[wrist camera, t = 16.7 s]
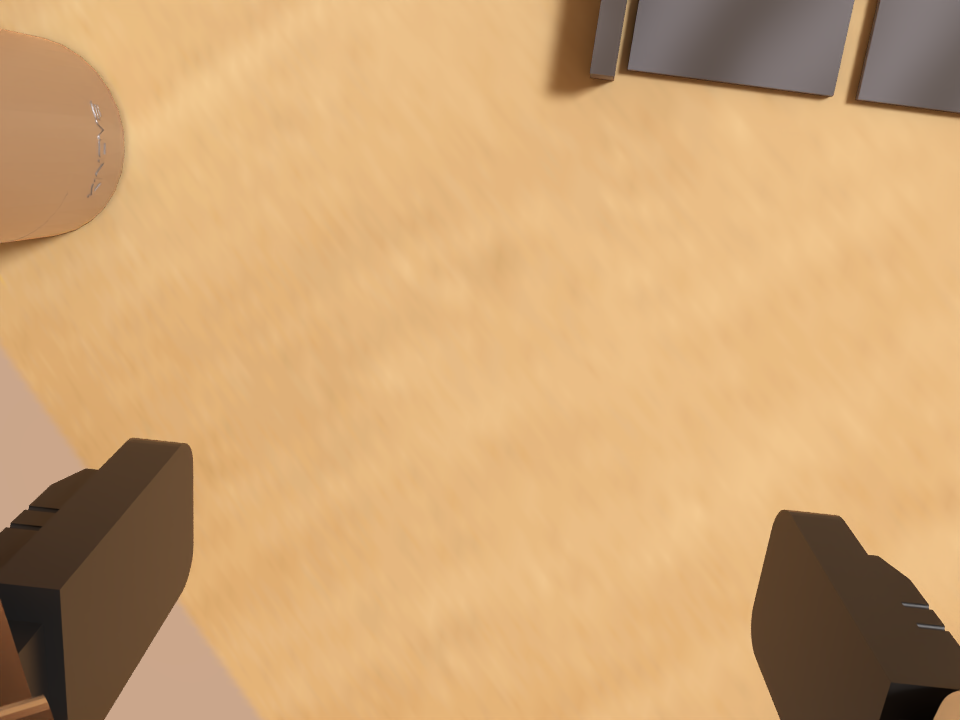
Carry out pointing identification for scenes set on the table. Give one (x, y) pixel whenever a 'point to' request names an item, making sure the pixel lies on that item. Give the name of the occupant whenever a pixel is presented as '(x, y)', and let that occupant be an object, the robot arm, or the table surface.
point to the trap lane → (792, 46)
